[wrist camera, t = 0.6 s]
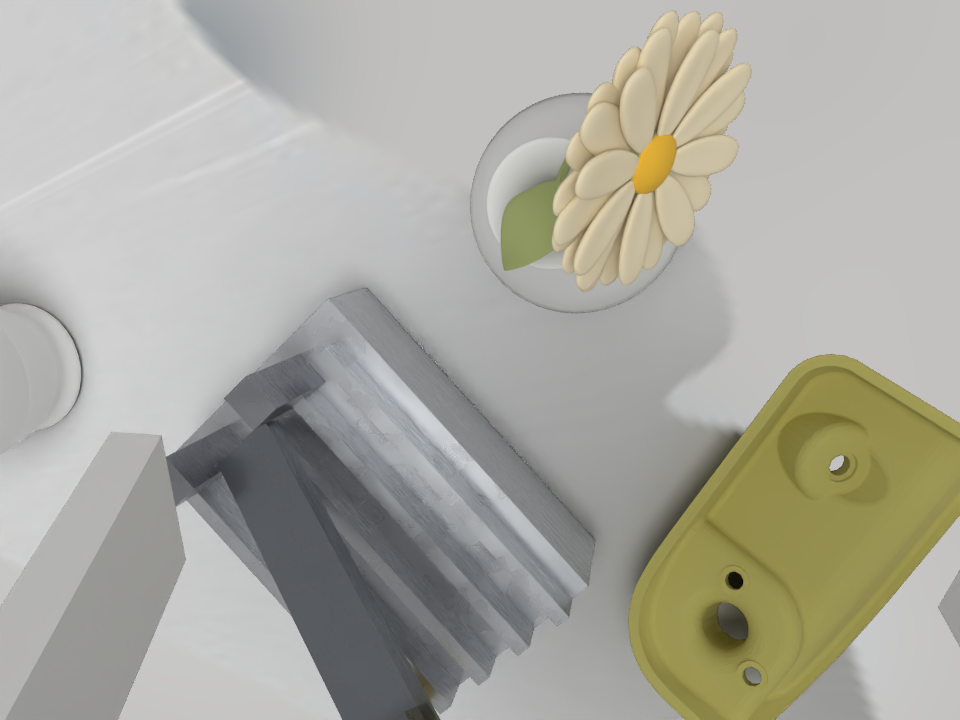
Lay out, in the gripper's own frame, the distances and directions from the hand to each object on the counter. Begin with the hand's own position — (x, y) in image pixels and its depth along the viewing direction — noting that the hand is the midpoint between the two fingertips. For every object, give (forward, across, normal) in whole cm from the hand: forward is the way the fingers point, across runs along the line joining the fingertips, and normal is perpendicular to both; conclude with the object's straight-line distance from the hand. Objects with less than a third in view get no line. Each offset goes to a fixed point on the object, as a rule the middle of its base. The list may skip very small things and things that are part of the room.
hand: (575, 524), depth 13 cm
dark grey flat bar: (+15, +7, +21) cm, 27 cm away
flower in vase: (+32, -4, +7) cm, 34 cm away
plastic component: (+24, -17, +22) cm, 37 cm away
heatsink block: (+27, +5, +25) cm, 37 cm away
